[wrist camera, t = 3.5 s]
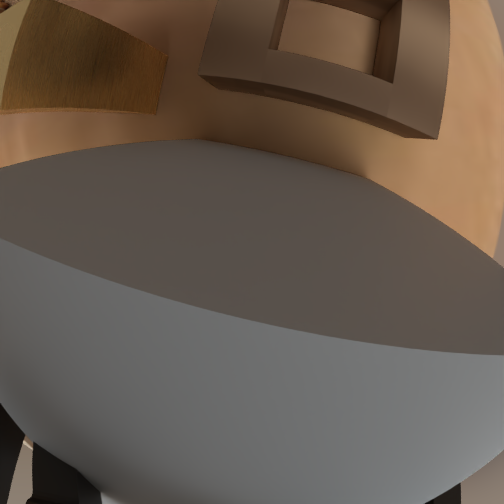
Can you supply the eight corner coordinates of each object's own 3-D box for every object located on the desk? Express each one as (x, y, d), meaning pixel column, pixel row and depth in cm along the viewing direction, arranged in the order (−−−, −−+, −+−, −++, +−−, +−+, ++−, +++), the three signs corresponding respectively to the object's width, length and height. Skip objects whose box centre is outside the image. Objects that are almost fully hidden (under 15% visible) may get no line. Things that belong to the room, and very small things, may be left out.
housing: (197, 138, 13) (-78, 197, 1) (369, 179, 13) (585, 353, 1) (175, 344, 19) (100, 503, 7) (296, 373, 19) (287, 547, 7)
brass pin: (117, 58, 12) (-19, 27, 3) (168, 56, 12) (33, -7, 2) (106, 112, 13) (-40, 120, 4) (155, 114, 13) (0, 110, 4)
